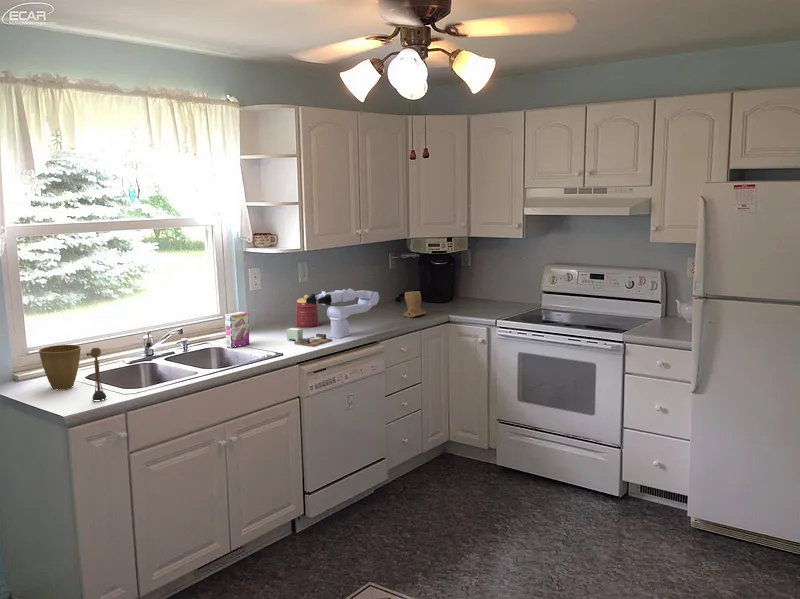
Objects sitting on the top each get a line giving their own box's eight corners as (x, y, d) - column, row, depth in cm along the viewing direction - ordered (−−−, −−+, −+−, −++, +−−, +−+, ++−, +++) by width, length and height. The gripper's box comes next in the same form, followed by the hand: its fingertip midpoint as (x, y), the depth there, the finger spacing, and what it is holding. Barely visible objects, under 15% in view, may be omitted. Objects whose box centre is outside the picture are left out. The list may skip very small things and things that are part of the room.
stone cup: (411, 313, 437) (411, 288, 435) (428, 314, 431) (428, 290, 428) (398, 317, 424) (397, 292, 422) (415, 318, 418) (415, 293, 416)
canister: (315, 322, 411) (314, 292, 408) (321, 326, 399) (320, 295, 396) (293, 324, 406) (292, 293, 403) (299, 328, 394) (298, 297, 391)
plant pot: (65, 394, 274) (62, 353, 272) (33, 391, 278) (29, 351, 276) (92, 383, 288) (88, 345, 286) (61, 381, 292) (57, 343, 290)
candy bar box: (232, 348, 347) (230, 315, 345) (225, 347, 350) (223, 314, 348) (250, 344, 356) (248, 312, 353) (244, 343, 359) (242, 311, 356)
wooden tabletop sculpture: (95, 403, 262) (90, 349, 259) (87, 401, 265) (82, 348, 262) (109, 398, 267) (104, 346, 264) (101, 397, 270) (97, 345, 266)
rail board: (313, 338, 368) (313, 332, 367) (331, 340, 361) (331, 335, 361) (294, 344, 355) (293, 338, 355) (313, 346, 349) (312, 340, 348)
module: (292, 339, 367) (291, 327, 366) (302, 340, 363) (302, 328, 362) (287, 340, 363) (286, 328, 363) (297, 342, 360) (297, 330, 359)
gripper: (318, 289, 368) (301, 292, 356) (340, 290, 360) (323, 293, 348) (319, 303, 369) (301, 306, 357) (341, 304, 361) (324, 307, 349)
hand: (312, 301), depth 353 cm, fingers open, 7 cm apart
